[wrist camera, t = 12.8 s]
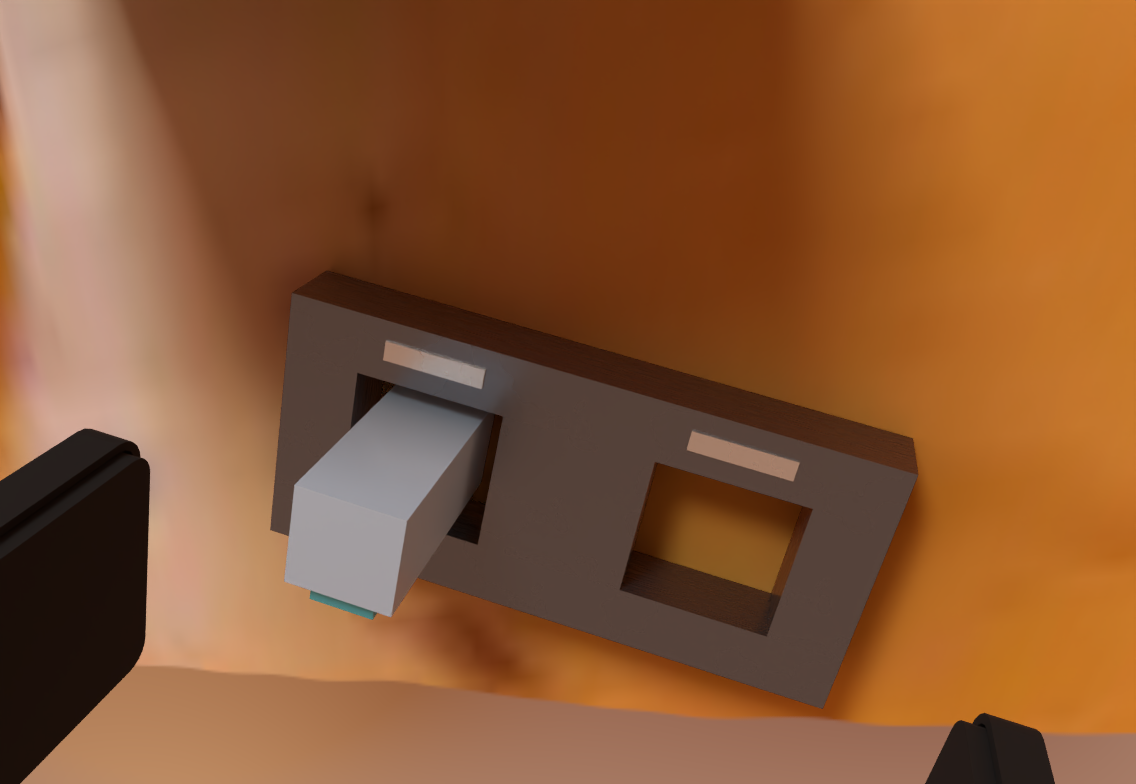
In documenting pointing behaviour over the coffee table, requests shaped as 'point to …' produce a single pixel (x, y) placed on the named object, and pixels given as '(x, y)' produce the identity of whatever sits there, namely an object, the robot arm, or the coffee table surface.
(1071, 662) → the coffee table surface
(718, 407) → the panel
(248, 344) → the coffee table surface
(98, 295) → the coffee table surface
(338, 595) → the plug
